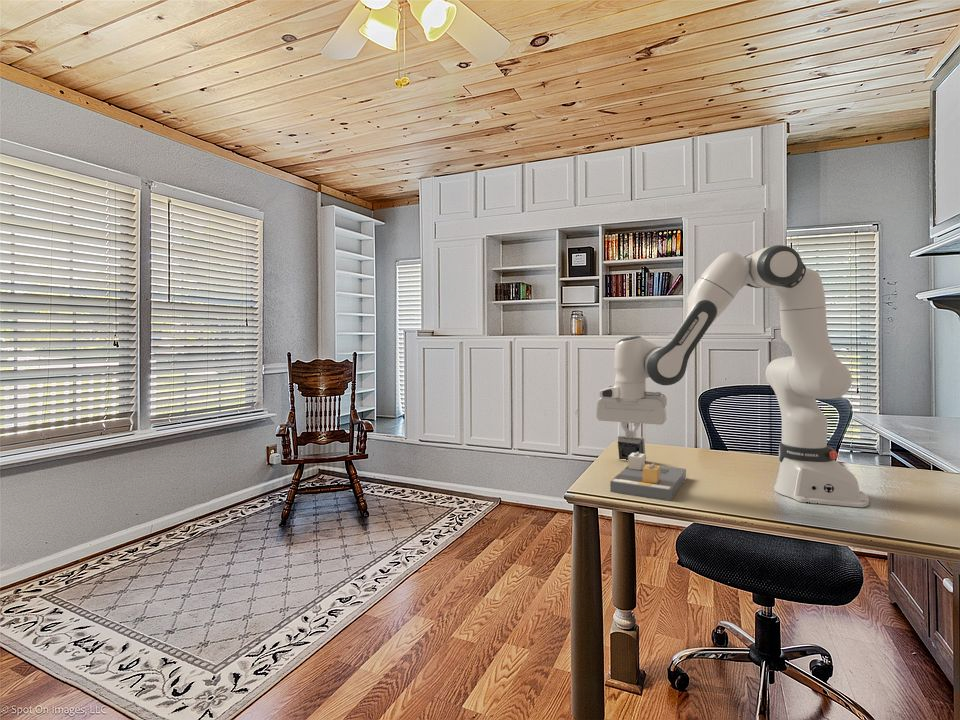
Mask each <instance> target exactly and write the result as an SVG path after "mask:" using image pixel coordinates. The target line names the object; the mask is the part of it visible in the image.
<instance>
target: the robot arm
mask: <svg viewBox="0 0 960 720" xmlns="http://www.w3.org/2000/svg"><path fill="white" fill-rule="evenodd" d="M745 286H747V287H750V288H755V289H765V288H766V289H767V288H773V289H774V290H775V291H776V293H777V296H778V299H779V303H778V304H779V321H780V322H779V323H780V325H779V326H780V336H781V338H782V340H783V341H784V343H786V344H787V346H788V347H789V349H790V351H791V353H792V355H793V356H792V355H789V356H783V357H778V358H775V359H773V360H772V361H770V362H769V363H768V364H767V367H766V370H765V379H766V382H767V384H768V385H769V386H770V387H771V389H772V390H773V391H774V395H775V396H776V400H777V403H778V406H779V411H780V415H781V440H780V442H779V446H778V459H779V469H778V472H777V473H778V474H777V477H776V481H775V484H774V486H773V490H774V491H775V492H776V493H778V494H780V495H783V496H785V497H788V498H792V499H794V500H795V501H797V502H801V503H806V502H808V504H809V502H810V504H817V503H818V505H830V506H843V507H854V508H865V507H868V506H869V504H870V499H869V496H868V495H867V494H866V493H864V492H863V491H861V490H860V486H859V482H858V480H857V478H856V476H855V475H854V474H853V473H852V472H851V471H850V470H848V468H845V466H843V465H842V464H840V463H839V462H838V461H836V460H837V459H838V457H839V453H838V451H836V450H835V449H834V448H833V447H832V446H831V447H830V446H828V445H827V444H828V419H827V416H826V415H825V414H824V412H823V411H822V410H821V408H820V407H819V405H818V402H817V400H831V399H832V400H833V399H839V398H842V397H843V396H845V395H846V394H847V393H848V392H849V390H850V388H851V385H852V378H853V377H852V374H851V372H850V370H849V368H848V367H847V366H845V365H844V364H843V363H842V362H841V360H840V359H839V358H838V356H837V354H836V352H835V351H834V348H833V346H832V343H831V341H830V338H829V337H830V336H829V331H828V323H827V322H828V321H827V307H826V305H827V304H826V295H825V289H824V285H823V280H822V278H821V275H820V274H819V273H818V271H816V270H814V269H811V268H807V266H806V265H805V264H804V262H803V261H802V257H801V255H800V254H799V253H798V251H796V250H795V249H794V248H792V247H790V246H787V245H781V244H779V245H778V244H777V245H776V244H775V245H773V246H768V247H763V248H760V249H759V250H758V249H757V251H753V252H751V253H749V254H747V255H745V256H743V255H742V254H740V253H737V252H734V251H733V252H732V251H726V252H725V251H724V252H723V253H721V254H720V255H719V256H717V257H716V258H715V259H714V260H713V261H712V262H711V263H710V264H709V265H708V266H707V268H706V269H705V270H704V271H703V272H702V273H701V275H700V276H699V277H698V279H697V281H695V283H694V284H693V287H692V288H691V290H690V292H689V294H688V296H687V298H686V304H687V305H686V306H687V313H686V316H685V319H684V320H683V322H682V323H681V325H680V326H679V328H678V329H677V331H676V332H675V333H674V335H673V337H672V338H671V339H670V341H669V342H668V343H667V344H665V346H662V345H659V344H656V343H652V341H649V340H647V339H645V338H643V337H642V336H639V335H634V336H627V337H624V338H621V339H619V340H618V341H617V342H616V344H615V346H614V354H613V357H614V358H613V361H614V365H613V367H614V371H615V378H614V385H609V386H607V387H605V388H602V389H600V390H599V391H598V396H599V398H598V399H597V402H596V412H595V417H596V419H597V420H598V421H602V422H612V423H613V422H616V423H620V424H621V425H620V426H621V428H622V429H623V431H624V435H625V437H632V438H636V437H638V436H637V431H638V430H639V428H640V426H641V424H644V425H645V424H646V425H664V424H665V423H666V422H667V411H666V410H667V409H666V406H667V405H668V404H667V403H668V402H667V397H666V395H665V394H664V393H662V392H660V391H656V392H654V391H646V389H647V387H646V379H647V378H650V379H651V380H652V381H653V382H654V383H656V384H658V385H661V386H671V385H675V384H677V383H679V382H680V381H681V380H682V379H683V377H684V376H685V374H686V371H687V366H688V363H689V359H690V356H691V355H692V353H693V351H694V350H695V349H696V347H697V345H698V344H699V342H700V341H701V339H702V338H703V336H704V335H705V334H706V332H707V331H708V330H709V327H710V326H712V324H713V323H714V322H715V321H716V320H717V319H718V317H719V316H720V315H721V314H722V313H723V312H724V311H725V310H727V308H728V307H729V306H730V304H731V303H732V302H733V300H734V299H735V297H736V296H737V295H738V294H739V292H740V291H741V290H742V289H743V288H744V287H745ZM629 423H630V424H631V423H632V424H633V427H634V429H633V430H630V429H629V427H628V426H627V425H628V424H629Z"/></svg>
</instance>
